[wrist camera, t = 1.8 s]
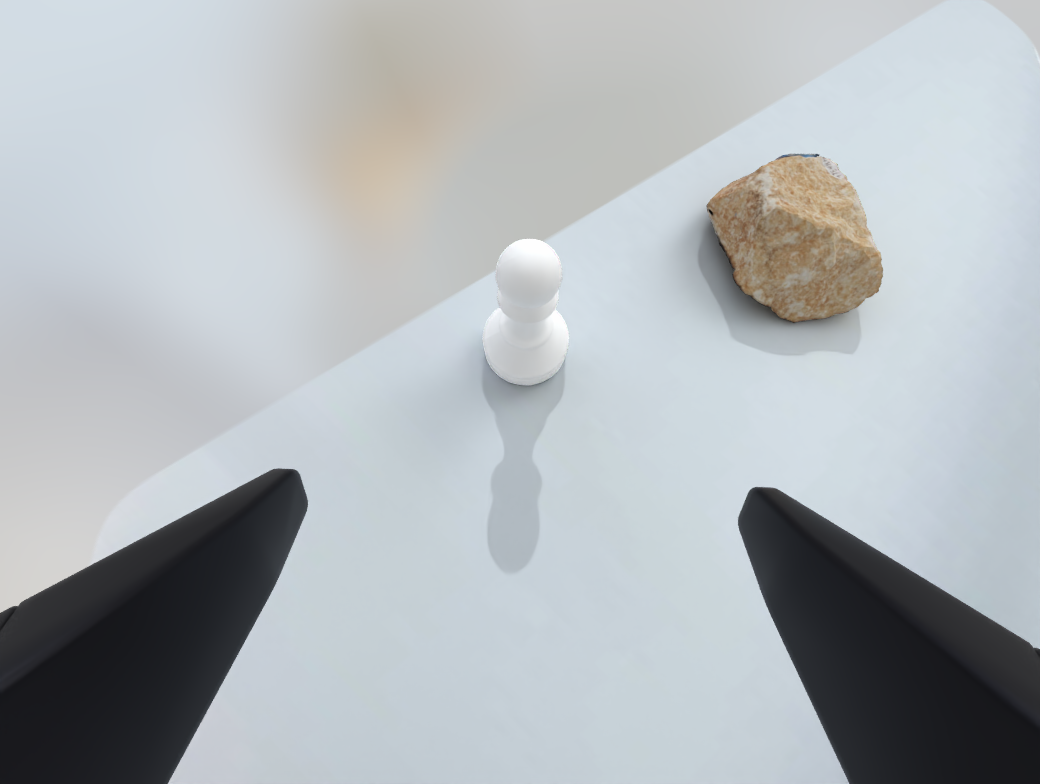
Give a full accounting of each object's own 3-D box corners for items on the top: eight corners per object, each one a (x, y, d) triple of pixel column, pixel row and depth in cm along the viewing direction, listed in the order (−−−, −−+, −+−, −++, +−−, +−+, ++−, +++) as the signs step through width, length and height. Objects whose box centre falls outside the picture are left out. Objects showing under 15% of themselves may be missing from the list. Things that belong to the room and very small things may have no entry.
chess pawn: (560, 307, 24) (584, 197, 16) (571, 382, 23) (604, 305, 14) (481, 314, 24) (461, 206, 16) (487, 390, 23) (469, 317, 14)
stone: (797, 182, 27) (850, 121, 23) (864, 312, 24) (939, 270, 20) (685, 201, 27) (717, 142, 23) (739, 336, 24) (788, 298, 20)
